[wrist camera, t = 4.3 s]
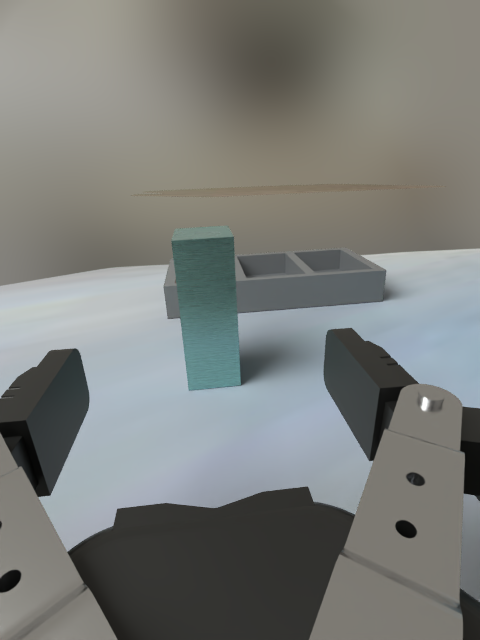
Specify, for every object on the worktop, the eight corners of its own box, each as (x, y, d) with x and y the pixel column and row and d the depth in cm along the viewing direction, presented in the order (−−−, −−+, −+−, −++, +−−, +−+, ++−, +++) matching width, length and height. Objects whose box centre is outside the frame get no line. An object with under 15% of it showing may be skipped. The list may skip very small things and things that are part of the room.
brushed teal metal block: (234, 356, 28) (227, 225, 24) (240, 385, 25) (233, 236, 21) (189, 360, 28) (175, 228, 24) (188, 390, 24) (171, 240, 20)
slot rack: (344, 272, 47) (346, 245, 46) (382, 301, 38) (386, 268, 36) (173, 285, 45) (170, 257, 44) (167, 318, 36) (163, 284, 34)
